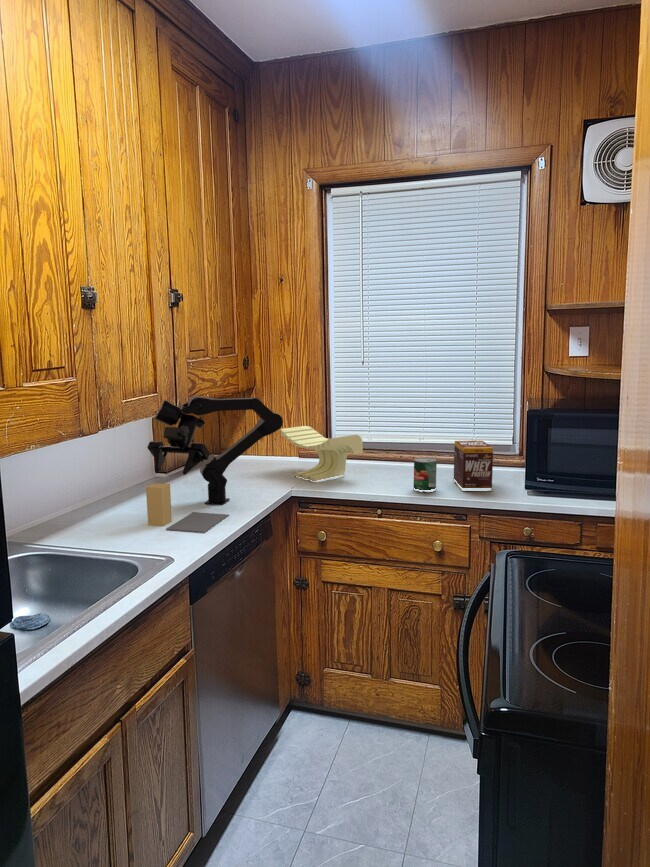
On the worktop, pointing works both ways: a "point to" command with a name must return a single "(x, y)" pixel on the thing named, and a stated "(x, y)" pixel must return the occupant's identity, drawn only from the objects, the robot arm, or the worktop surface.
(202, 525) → the slate mat
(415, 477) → the canned tomato
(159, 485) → the ochre block
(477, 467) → the supplement box
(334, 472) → the slatted curved stool
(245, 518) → the worktop surface
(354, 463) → the worktop surface
